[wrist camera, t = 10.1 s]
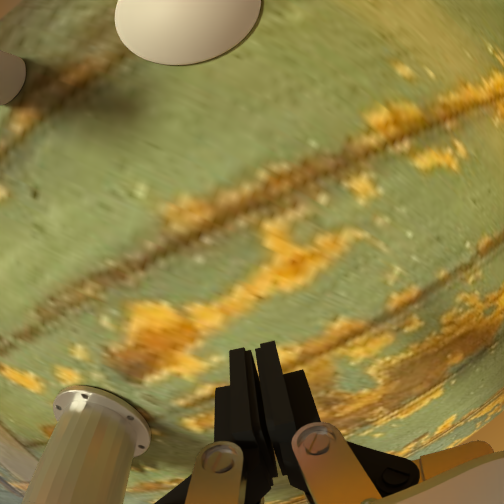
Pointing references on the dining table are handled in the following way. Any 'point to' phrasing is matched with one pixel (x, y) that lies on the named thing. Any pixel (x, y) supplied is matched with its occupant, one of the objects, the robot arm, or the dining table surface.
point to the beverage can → (10, 76)
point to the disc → (184, 28)
